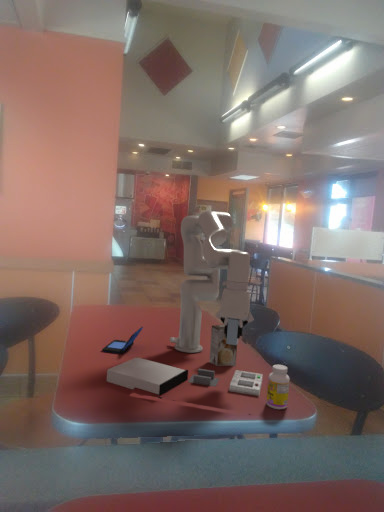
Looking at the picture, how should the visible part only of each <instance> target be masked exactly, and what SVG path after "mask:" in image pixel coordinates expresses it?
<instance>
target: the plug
mask: <svg viewBox="0 0 384 512" xmlns="http://www.w3.org/2000/svg"><path fill="white" fill-rule="evenodd" d="M238 327H239V319H232V318H229V319H228V329H227V342H226V344H231V345H237V346H238V343H239V339H238V338H237V333H238Z"/></svg>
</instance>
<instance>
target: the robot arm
mask: <svg viewBox="0 0 384 512" xmlns="http://www.w3.org/2000/svg"><path fill="white" fill-rule="evenodd" d="M233 225H234V220H233V217H232V216H231V214H230V213H228V212H225V211H214V210H206V211H205V210H204V211H203V212H201V213H200V214H199V215H187V216H184V217H183V218H182V221H181V223H180V234H181V238H182V242H183V270H184V271H183V272H184V274H185V276H188V277H197V278H198V277H201V278H202V277H203V278H204V277H205V279H195V278H192V279H186V280H184V281H182V282H181V284H180V286H179V293H180V316H179V328H178V329H179V330H178V331H179V332H178V337H174V336H173V337H172V336H171V337H169V342H170V343H171V344H172V343H173V344H175V345H174V350H176V351H179V352H182V353H187V354H189V353H190V354H193V353H200V352H202V351H203V346H202V345H201V344H200V341H201V328H202V314H203V313H202V312H203V310H202V308H201V306H200V305H199V303H198V302H208V301H209V302H212V301H215V300H216V299H218V296H219V293H220V292H219V290H220V287H219V286H220V283H219V281H220V275H219V274H220V270H227V275H226V280H225V281H222V286H225V288H223V291H222V295H221V300H220V301H221V302H220V305H219V306H220V307H219V309H218V311H217V312H216V314H215V317H217V319H219V320H220V321H221V322H222V323H223V324H222V325H225V329H224V334H226V335H225V337H227V329H228V319H229V318H232V319H239V327H238V333H237V338H238V340H239V339H240V338H241V337H242V336H243V331H244V330H243V328H244V326H246V325H248V324H249V323H253V321H254V316H253V315H252V312H251V310H250V309H251V306H250V305H251V295H250V290H248V288H249V287H248V285H249V275H250V265H251V263H250V262H251V254H250V253H249V252H247V251H242V250H240V249H236V248H235V249H233V248H231V249H229V248H217V247H219V246H221V245H223V244H224V243H225V242H226V240H227V238H228V233H229V232H231V230H232V228H233ZM198 236H204V237H205V239H204V240H203V242H202V241H201V240H200V238H199V237H198Z"/></svg>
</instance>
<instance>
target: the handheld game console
mask: <svg viewBox="0 0 384 512" xmlns="http://www.w3.org/2000/svg"><path fill="white" fill-rule="evenodd" d="M143 328H144V327H143V326H141V327H140V328H138V330H135V332H134V333H133V334H131V336H130V337H129V338H128V340H123V339H122V340H121V339H113V340H112V341H110V343H108V344H107V345H105V346H104V347H103V348H101V349H102V352H103V351H104V352H103V353H108V352H111V353H110V354H116V353H118V355H123V354H124V353H125V352H126V351H127V350H128V349H129V348H131V347H132V346H133V345H134V341H135V340H136V339H137V338H138V336H139V334H140V333H141V332H142V330H143ZM127 348H128V349H127Z"/></svg>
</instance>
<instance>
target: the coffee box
mask: <svg viewBox="0 0 384 512" xmlns="http://www.w3.org/2000/svg"><path fill="white" fill-rule="evenodd" d="M224 329H225V325H224V324H218V325H216V324H215V325H211V334H210V347H209V348H210V350H209V359H208V360H209V363H211V364H213V365H214V366H216V367H224V366H228V367H229V366H231V367H236V364H237V353H238V350H237V349H238V344H237V345H231V344H226V342H227V337H225V335H226V334H224Z"/></svg>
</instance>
